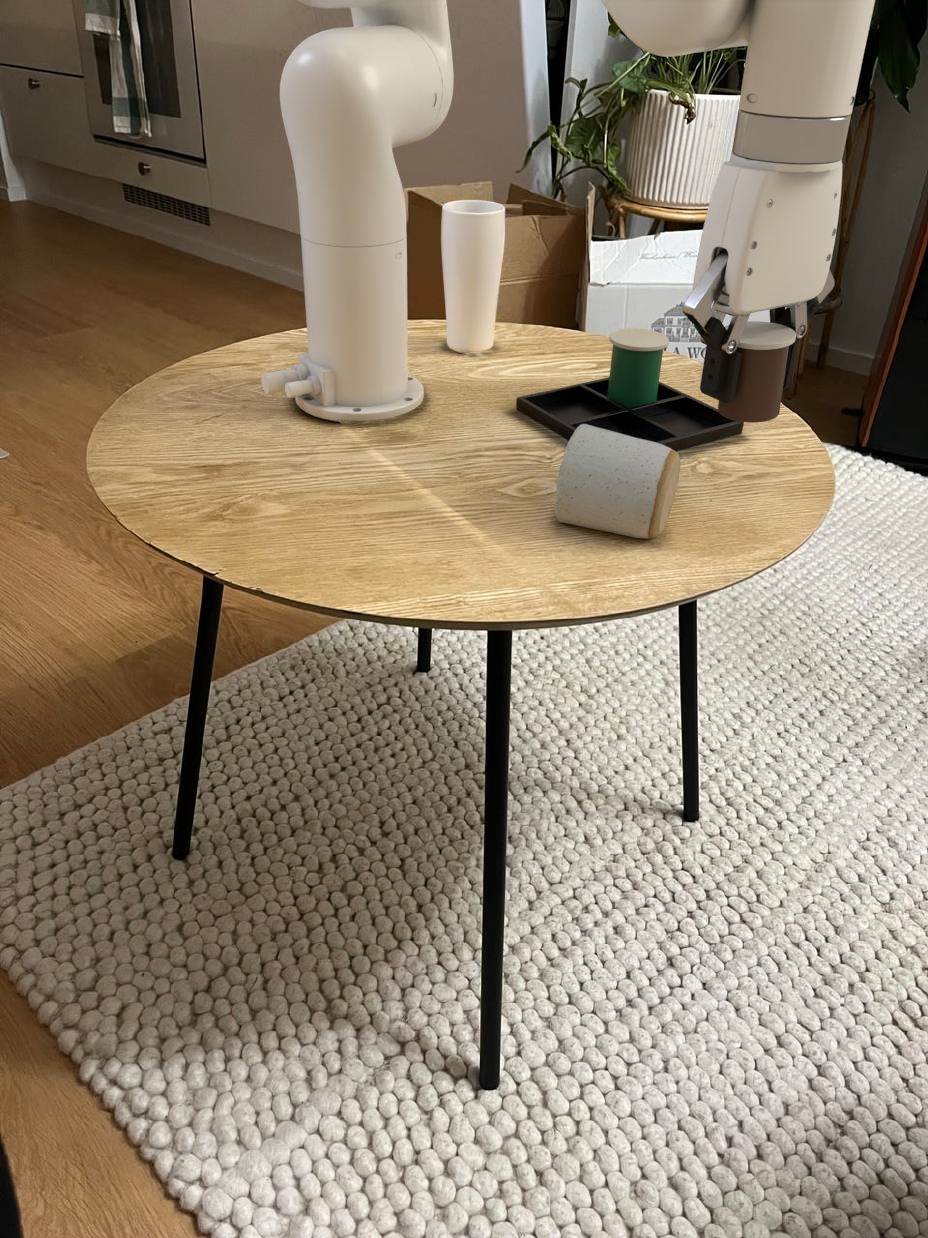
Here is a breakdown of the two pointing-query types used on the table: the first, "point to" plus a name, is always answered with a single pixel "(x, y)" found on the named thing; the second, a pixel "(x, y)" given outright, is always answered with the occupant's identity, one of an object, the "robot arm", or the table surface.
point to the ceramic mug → (616, 483)
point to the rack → (630, 415)
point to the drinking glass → (471, 271)
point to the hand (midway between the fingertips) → (744, 387)
